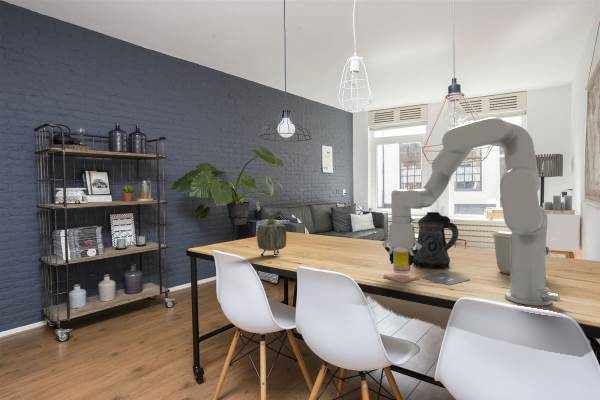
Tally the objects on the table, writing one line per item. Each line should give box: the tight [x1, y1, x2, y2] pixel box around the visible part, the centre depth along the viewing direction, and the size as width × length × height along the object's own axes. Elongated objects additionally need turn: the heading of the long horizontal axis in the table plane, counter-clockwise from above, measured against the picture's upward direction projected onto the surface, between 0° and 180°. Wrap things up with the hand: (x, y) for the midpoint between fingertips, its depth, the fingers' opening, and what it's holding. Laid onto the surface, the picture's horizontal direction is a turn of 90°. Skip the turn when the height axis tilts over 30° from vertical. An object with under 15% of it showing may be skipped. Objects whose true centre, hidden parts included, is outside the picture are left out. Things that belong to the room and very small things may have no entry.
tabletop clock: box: [256, 210, 287, 257], centre depth 193 cm, size 14×9×25 cm, turn 130°
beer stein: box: [412, 211, 459, 270], centre depth 164 cm, size 16×19×25 cm
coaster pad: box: [382, 272, 421, 283], centre depth 143 cm, size 10×10×1 cm
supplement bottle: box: [392, 247, 411, 274], centre depth 142 cm, size 7×7×13 cm
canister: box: [491, 228, 512, 275], centre depth 147 cm, size 18×18×21 cm
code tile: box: [420, 272, 471, 286], centre depth 140 cm, size 13×13×1 cm
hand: (401, 263), depth 142 cm, fingers closed on supplement bottle, 6 cm apart
